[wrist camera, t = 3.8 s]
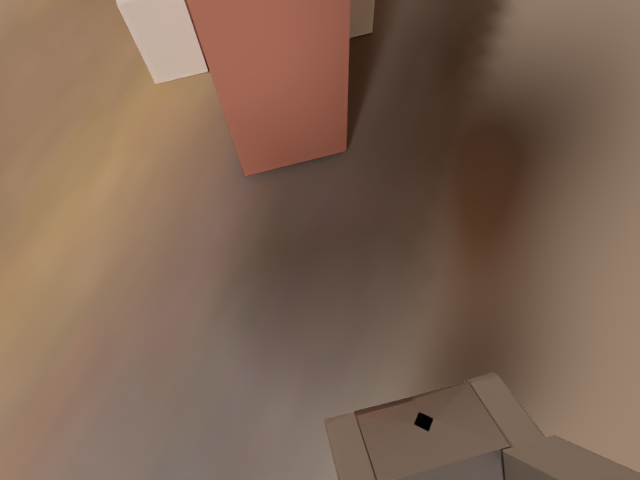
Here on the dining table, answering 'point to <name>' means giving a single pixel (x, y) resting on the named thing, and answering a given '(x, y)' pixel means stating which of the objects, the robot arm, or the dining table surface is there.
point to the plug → (278, 76)
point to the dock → (192, 34)
